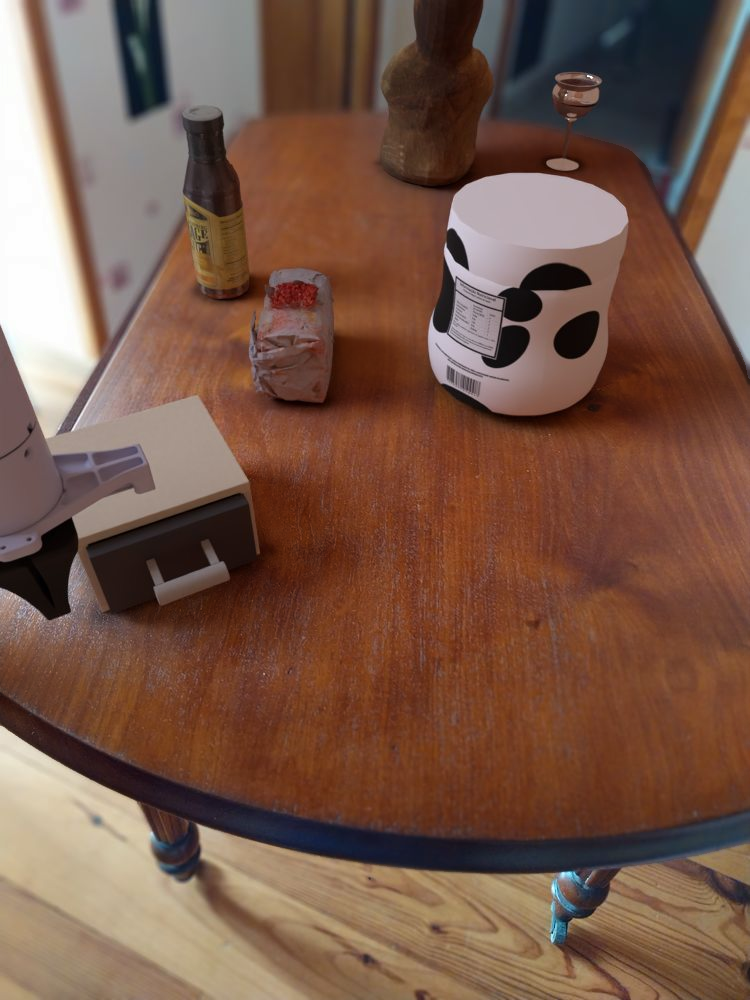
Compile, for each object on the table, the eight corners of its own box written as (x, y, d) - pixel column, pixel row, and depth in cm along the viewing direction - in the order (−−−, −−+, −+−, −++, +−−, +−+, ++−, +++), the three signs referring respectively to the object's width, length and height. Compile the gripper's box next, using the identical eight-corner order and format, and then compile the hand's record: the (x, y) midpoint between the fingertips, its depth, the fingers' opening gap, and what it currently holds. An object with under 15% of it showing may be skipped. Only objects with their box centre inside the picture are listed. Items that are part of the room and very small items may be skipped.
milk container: (585, 337, 83) (626, 172, 70) (605, 439, 71) (659, 262, 58) (428, 328, 84) (440, 163, 71) (421, 427, 71) (435, 250, 59)
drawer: (277, 595, 56) (269, 539, 52) (125, 655, 52) (103, 600, 48) (213, 477, 65) (202, 420, 61) (79, 521, 61) (57, 464, 57)
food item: (334, 412, 73) (331, 324, 66) (252, 412, 73) (240, 324, 66) (336, 334, 83) (334, 250, 76) (264, 334, 82) (254, 250, 75)
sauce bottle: (192, 281, 90) (160, 103, 76) (242, 271, 92) (220, 95, 78) (207, 308, 86) (177, 125, 72) (259, 297, 88) (240, 116, 74)
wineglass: (534, 157, 119) (548, 72, 110) (575, 154, 119) (591, 71, 111) (548, 174, 114) (564, 87, 105) (591, 171, 115) (609, 85, 106)
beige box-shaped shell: (260, 554, 60) (249, 481, 54) (102, 613, 56) (72, 541, 50) (212, 466, 67) (198, 394, 62) (69, 512, 63) (39, 439, 57)
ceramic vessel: (472, 147, 121) (496, -87, 100) (496, 207, 106) (530, -55, 84) (375, 148, 120) (378, -87, 99) (384, 208, 105) (390, -55, 83)
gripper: (-206, 540, 30) (-68, 709, 40) (148, 434, 35) (194, 607, 45) (-204, 438, 35) (-80, 613, 44) (110, 356, 40) (160, 530, 49)
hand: (56, 604), depth 45 cm, fingers closed
